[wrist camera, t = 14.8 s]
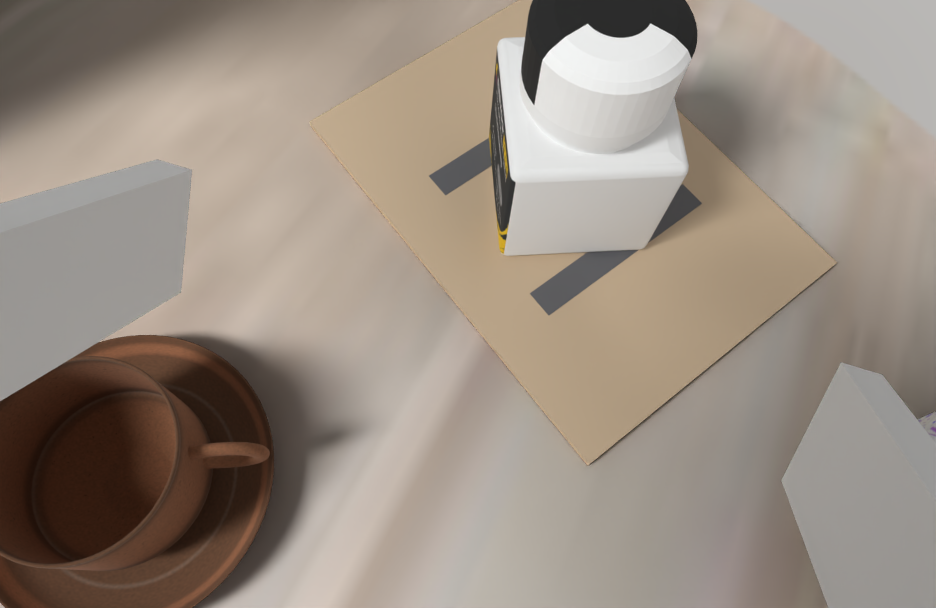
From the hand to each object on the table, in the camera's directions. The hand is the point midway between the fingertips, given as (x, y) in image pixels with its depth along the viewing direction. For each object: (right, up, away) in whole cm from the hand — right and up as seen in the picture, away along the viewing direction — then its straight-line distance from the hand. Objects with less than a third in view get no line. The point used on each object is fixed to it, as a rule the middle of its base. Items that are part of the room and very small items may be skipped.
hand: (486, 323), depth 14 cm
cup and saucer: (-14, -7, +17) cm, 23 cm away
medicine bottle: (+4, +6, +22) cm, 23 cm away
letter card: (+4, +6, +22) cm, 23 cm away
